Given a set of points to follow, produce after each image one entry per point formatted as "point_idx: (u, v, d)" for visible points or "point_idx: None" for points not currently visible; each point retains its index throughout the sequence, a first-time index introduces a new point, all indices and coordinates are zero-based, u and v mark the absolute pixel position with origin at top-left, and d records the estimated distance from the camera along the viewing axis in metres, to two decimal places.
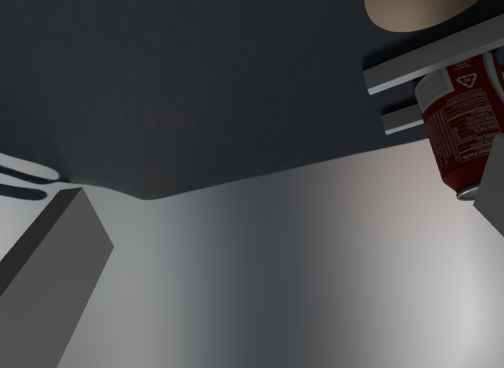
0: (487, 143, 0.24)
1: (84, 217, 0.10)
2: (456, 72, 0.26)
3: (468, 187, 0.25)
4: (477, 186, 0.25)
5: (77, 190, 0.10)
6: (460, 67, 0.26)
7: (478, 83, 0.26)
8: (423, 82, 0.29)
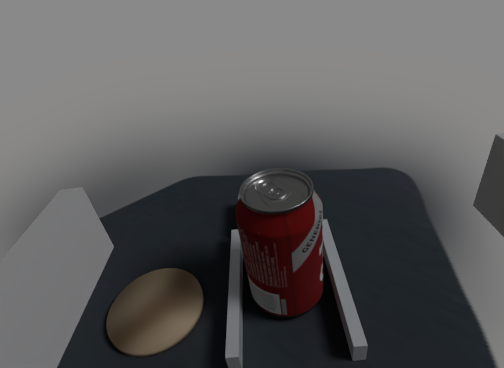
0: None
1: (84, 217, 0.10)
2: None
3: (251, 209, 0.22)
4: (244, 203, 0.23)
5: (77, 190, 0.10)
6: None
7: None
8: (263, 305, 0.27)
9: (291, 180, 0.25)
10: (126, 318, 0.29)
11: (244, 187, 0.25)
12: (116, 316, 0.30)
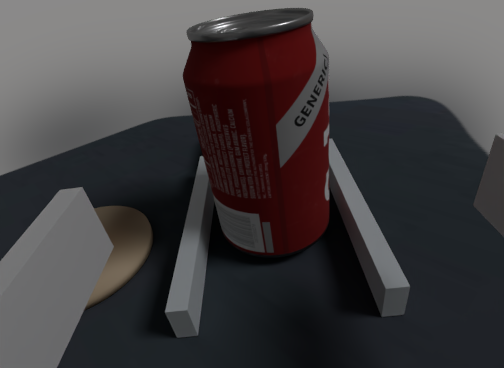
0: None
1: (84, 217, 0.10)
2: None
3: (202, 41, 0.12)
4: (192, 35, 0.13)
5: (77, 190, 0.10)
6: None
7: None
8: (237, 240, 0.18)
9: (276, 21, 0.15)
10: None
11: (198, 32, 0.15)
12: None
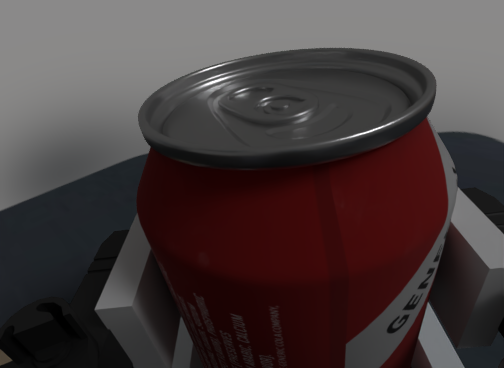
0: None
1: None
2: None
3: (168, 154, 0.05)
4: (144, 133, 0.05)
5: None
6: None
7: None
8: None
9: (328, 75, 0.08)
10: None
11: (173, 99, 0.07)
12: None
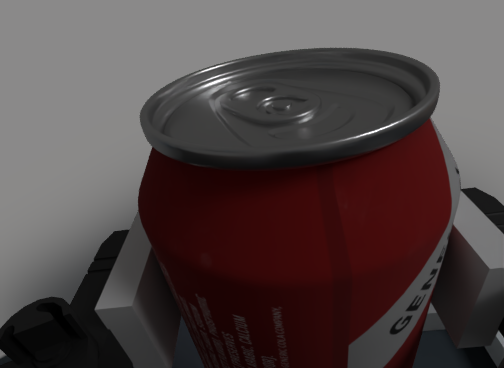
0: None
1: None
2: None
3: (170, 154, 0.05)
4: (146, 133, 0.05)
5: None
6: None
7: None
8: None
9: (330, 76, 0.07)
10: None
11: (174, 99, 0.07)
12: None
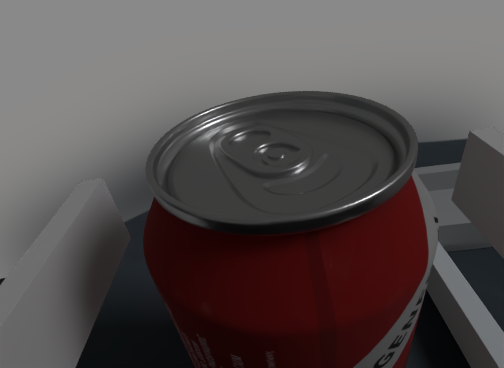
0: None
1: (104, 207, 0.10)
2: None
3: (174, 213, 0.05)
4: (152, 190, 0.06)
5: (98, 181, 0.10)
6: None
7: None
8: None
9: (322, 120, 0.08)
10: None
11: (176, 142, 0.08)
12: None
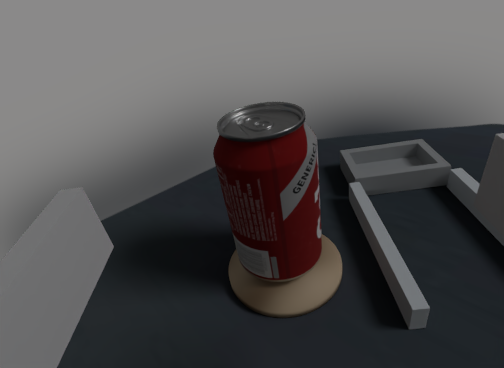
0: None
1: (84, 217, 0.10)
2: None
3: (229, 139, 0.18)
4: (222, 133, 0.19)
5: (77, 190, 0.10)
6: None
7: None
8: (251, 268, 0.23)
9: (279, 113, 0.21)
10: (253, 276, 0.25)
11: (224, 122, 0.21)
12: (239, 275, 0.25)
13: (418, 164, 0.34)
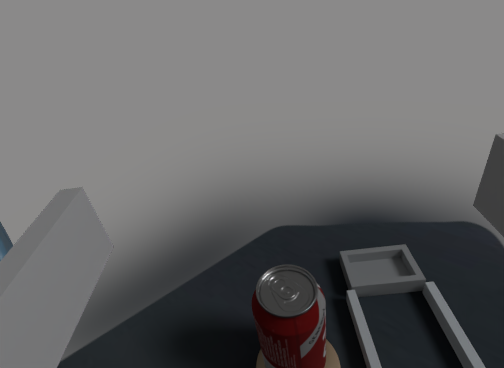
0: None
1: (84, 217, 0.10)
2: None
3: (266, 311, 0.27)
4: (260, 305, 0.27)
5: (77, 190, 0.10)
6: None
7: None
8: None
9: (298, 277, 0.30)
10: None
11: (259, 283, 0.30)
12: None
13: (401, 267, 0.43)
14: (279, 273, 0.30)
